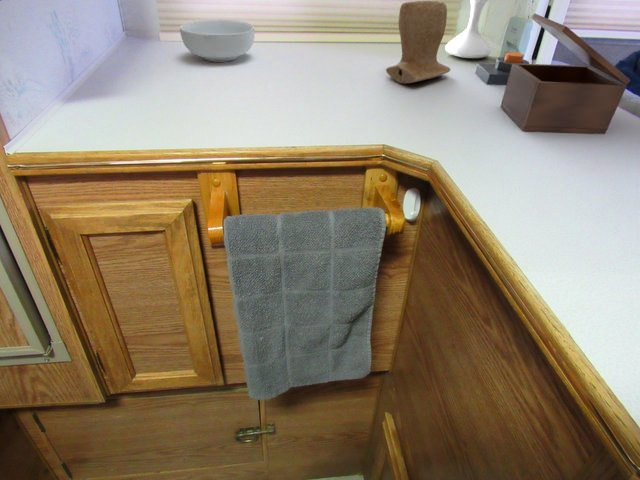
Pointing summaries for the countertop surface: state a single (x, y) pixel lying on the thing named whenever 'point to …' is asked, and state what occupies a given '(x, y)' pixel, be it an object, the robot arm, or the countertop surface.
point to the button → (513, 57)
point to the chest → (561, 98)
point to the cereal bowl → (217, 39)
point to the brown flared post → (420, 41)
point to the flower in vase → (470, 37)
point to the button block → (496, 71)
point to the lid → (580, 48)
